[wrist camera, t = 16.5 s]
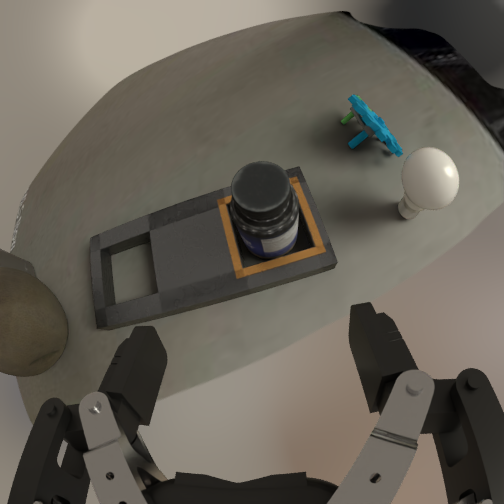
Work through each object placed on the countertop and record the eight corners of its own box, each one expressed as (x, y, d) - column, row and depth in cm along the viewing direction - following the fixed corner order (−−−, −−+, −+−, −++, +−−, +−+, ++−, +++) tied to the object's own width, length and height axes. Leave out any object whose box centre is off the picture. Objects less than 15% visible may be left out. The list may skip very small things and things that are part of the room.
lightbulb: (386, 182, 32) (414, 125, 21) (429, 199, 30) (467, 150, 20) (378, 225, 30) (411, 174, 20) (424, 243, 29) (470, 201, 18)
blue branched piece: (415, 162, 30) (379, 124, 25) (383, 186, 34) (340, 156, 29) (381, 112, 35) (341, 75, 30) (354, 134, 39) (312, 103, 34)
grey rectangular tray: (108, 330, 31) (96, 328, 28) (100, 244, 35) (89, 237, 32) (334, 268, 29) (337, 261, 27) (299, 177, 33) (299, 165, 31)
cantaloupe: (78, 270, 34) (-1, 233, 20) (95, 369, 29) (3, 369, 15) (25, 296, 34) (-43, 273, 20) (37, 380, 30) (-38, 377, 16)
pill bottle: (236, 222, 33) (211, 170, 22) (284, 203, 33) (279, 143, 22) (255, 270, 31) (236, 232, 20) (306, 249, 31) (313, 201, 20)
